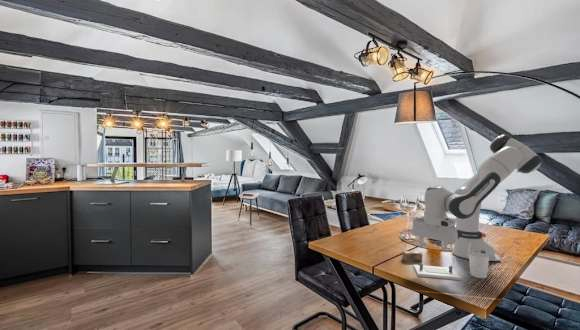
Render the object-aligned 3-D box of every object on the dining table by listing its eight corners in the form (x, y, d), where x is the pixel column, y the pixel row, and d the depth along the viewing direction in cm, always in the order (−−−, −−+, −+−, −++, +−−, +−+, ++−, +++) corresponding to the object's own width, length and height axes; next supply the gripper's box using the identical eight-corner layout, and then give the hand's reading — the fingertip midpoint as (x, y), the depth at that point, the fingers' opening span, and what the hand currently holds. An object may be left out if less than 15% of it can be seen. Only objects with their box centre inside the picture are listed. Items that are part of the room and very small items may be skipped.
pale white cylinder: (480, 272, 141) (481, 251, 141) (492, 279, 133) (493, 257, 133) (464, 272, 141) (465, 251, 140) (475, 279, 133) (476, 257, 133)
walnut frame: (418, 260, 157) (419, 251, 157) (422, 263, 153) (422, 253, 153) (402, 260, 157) (402, 250, 157) (405, 263, 153) (405, 253, 153)
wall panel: (452, 270, 143) (452, 262, 143) (460, 280, 131) (460, 271, 131) (413, 266, 147) (413, 259, 147) (418, 276, 136) (418, 268, 135)
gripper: (410, 217, 145) (409, 244, 146) (454, 224, 130) (453, 254, 131) (415, 215, 150) (415, 242, 150) (459, 222, 134) (458, 251, 135)
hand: (433, 248), depth 140 cm, fingers open, 8 cm apart
